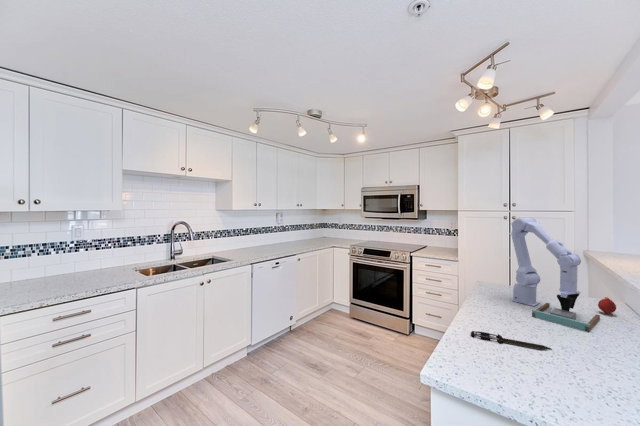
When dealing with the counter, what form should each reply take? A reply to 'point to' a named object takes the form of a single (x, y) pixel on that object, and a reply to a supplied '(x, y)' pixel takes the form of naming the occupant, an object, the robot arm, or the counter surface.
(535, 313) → the bay
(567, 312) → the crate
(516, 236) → the robot arm
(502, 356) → the counter surface
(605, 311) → the red rounded lump
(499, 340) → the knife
